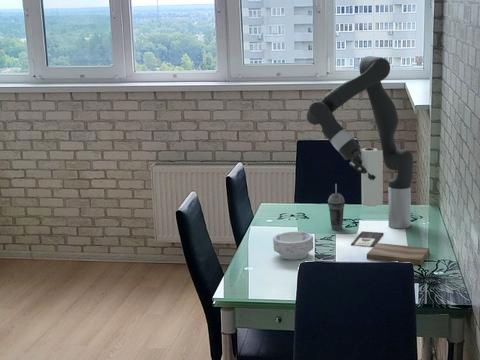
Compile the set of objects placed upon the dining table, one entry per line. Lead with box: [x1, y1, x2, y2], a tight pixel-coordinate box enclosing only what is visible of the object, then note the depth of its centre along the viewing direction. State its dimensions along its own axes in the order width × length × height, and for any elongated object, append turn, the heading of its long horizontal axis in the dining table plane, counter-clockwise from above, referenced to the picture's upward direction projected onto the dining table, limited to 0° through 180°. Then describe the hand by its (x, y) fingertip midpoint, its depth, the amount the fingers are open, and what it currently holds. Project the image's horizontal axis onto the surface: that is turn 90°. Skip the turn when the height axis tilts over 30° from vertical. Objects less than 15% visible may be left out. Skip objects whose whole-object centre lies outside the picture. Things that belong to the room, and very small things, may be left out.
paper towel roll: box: [360, 147, 384, 207], centre depth 263 cm, size 7×6×21 cm
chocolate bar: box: [350, 230, 384, 248], centre depth 286 cm, size 9×1×18 cm
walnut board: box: [366, 242, 431, 266], centre depth 264 cm, size 14×20×2 cm
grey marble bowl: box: [272, 231, 314, 261], centre depth 269 cm, size 15×15×8 cm
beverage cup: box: [327, 183, 346, 231], centre depth 301 cm, size 7×7×20 cm
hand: (375, 178), depth 262 cm, fingers closed on paper towel roll, 3 cm apart
